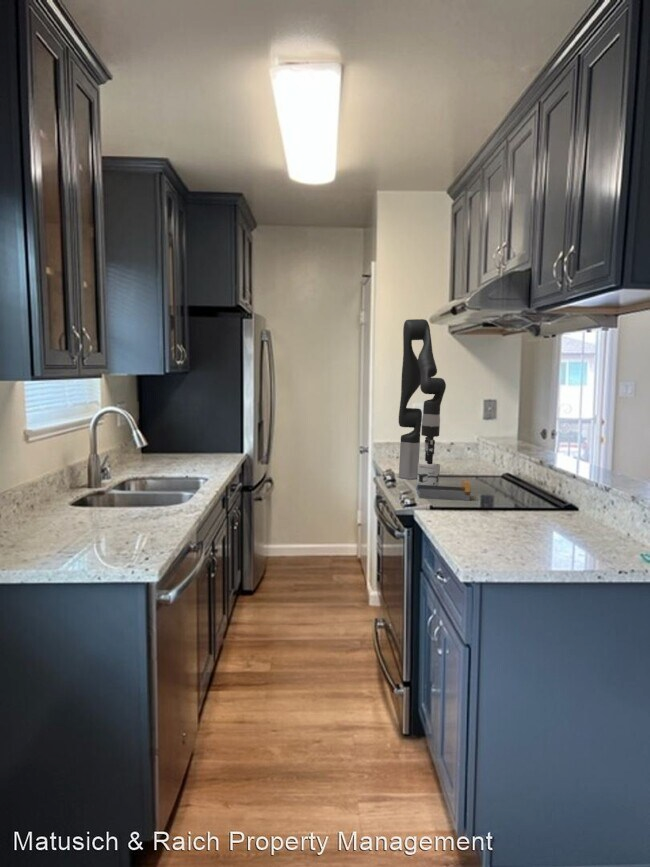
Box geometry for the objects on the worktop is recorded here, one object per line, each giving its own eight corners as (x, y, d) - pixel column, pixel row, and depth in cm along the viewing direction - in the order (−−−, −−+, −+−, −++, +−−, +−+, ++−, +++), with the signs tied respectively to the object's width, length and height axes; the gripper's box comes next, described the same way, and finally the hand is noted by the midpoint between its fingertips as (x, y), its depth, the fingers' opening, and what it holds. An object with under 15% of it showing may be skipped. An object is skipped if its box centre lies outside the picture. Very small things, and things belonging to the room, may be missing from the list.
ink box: (416, 490, 256) (417, 463, 255) (419, 488, 261) (421, 461, 259) (435, 492, 252) (437, 465, 251) (438, 491, 257) (440, 464, 256)
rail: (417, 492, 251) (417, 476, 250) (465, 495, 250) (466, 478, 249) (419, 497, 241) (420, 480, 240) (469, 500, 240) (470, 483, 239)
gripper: (420, 423, 261) (418, 460, 262) (423, 425, 247) (421, 464, 248) (437, 423, 260) (435, 460, 262) (441, 426, 246) (439, 465, 248)
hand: (428, 462), depth 255 cm, fingers open, 8 cm apart
